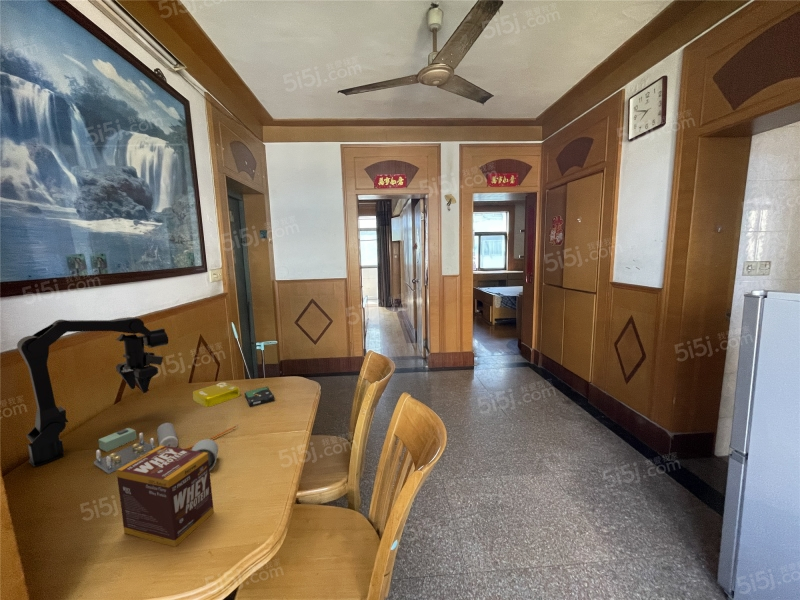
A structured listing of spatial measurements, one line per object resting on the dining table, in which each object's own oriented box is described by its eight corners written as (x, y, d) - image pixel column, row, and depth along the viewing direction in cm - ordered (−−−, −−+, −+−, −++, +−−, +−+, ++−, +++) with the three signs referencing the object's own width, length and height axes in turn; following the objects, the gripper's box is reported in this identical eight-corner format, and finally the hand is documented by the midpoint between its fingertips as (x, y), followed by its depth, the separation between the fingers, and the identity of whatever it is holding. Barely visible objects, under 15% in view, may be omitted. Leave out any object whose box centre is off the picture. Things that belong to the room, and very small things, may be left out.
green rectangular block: (106, 452, 107) (105, 440, 107) (99, 449, 110) (98, 437, 109) (136, 439, 115) (135, 428, 114) (129, 436, 117) (128, 426, 117)
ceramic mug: (220, 456, 103) (217, 433, 102) (217, 470, 96) (214, 446, 95) (180, 466, 99) (177, 442, 98) (174, 482, 91) (171, 456, 90)
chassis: (108, 473, 96) (106, 459, 95) (94, 464, 100) (92, 450, 100) (158, 451, 107) (156, 438, 106) (143, 443, 112) (142, 431, 111)
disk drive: (275, 402, 144) (267, 391, 156) (274, 396, 143) (267, 385, 156) (250, 408, 138) (244, 397, 150) (249, 402, 138) (243, 391, 150)
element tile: (191, 400, 148) (190, 390, 147) (225, 389, 160) (224, 380, 159) (207, 408, 139) (206, 397, 138) (241, 396, 151) (240, 386, 151)
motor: (159, 459, 102) (161, 443, 102) (155, 432, 119) (156, 419, 119) (240, 443, 117) (241, 429, 117) (225, 421, 134) (226, 409, 134)
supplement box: (176, 547, 70) (167, 480, 68) (123, 533, 74) (114, 469, 72) (215, 512, 80) (209, 452, 78) (167, 501, 84) (160, 444, 82)
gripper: (171, 348, 125) (175, 387, 127) (147, 343, 134) (150, 380, 135) (137, 355, 115) (141, 398, 117) (113, 350, 124) (117, 389, 126)
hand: (139, 390), depth 124 cm, fingers open, 9 cm apart
